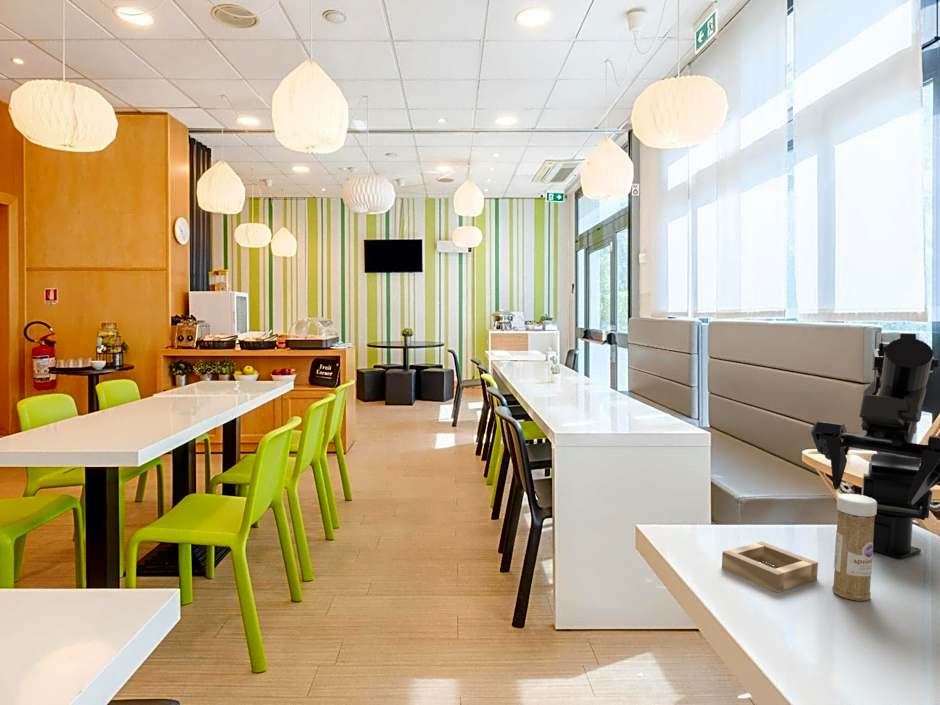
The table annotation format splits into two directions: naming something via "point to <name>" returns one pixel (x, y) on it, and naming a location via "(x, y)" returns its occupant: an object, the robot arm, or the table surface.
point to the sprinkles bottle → (854, 546)
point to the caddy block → (784, 577)
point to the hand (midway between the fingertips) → (871, 495)
